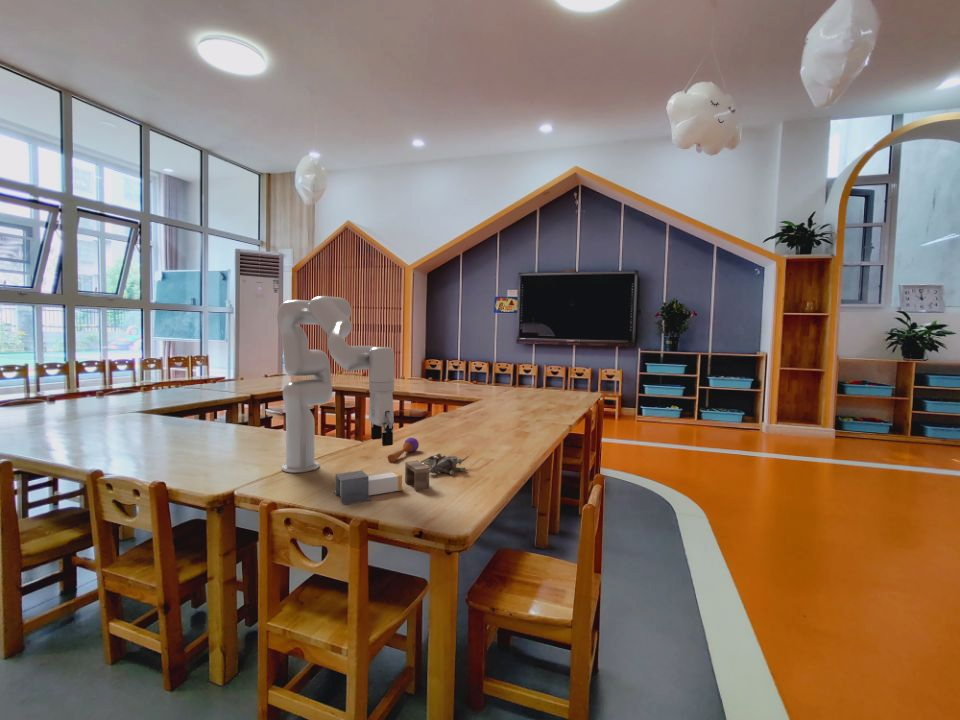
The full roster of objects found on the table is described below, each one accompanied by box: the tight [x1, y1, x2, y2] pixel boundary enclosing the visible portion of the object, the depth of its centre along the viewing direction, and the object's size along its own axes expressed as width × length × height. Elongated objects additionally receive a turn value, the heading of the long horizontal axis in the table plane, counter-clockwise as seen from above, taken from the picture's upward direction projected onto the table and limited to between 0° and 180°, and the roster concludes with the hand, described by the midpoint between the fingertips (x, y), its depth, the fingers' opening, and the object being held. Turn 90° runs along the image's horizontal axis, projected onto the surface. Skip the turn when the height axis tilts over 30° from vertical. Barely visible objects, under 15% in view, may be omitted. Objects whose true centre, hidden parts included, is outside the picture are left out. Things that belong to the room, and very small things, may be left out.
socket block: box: [404, 460, 430, 492], centre depth 154 cm, size 9×4×7 cm, turn 31°
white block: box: [340, 471, 403, 497], centre depth 146 cm, size 5×18×5 cm, turn 121°
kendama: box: [387, 437, 420, 463], centre depth 190 cm, size 6×6×20 cm
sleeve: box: [333, 470, 372, 506], centre depth 143 cm, size 11×8×7 cm
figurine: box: [420, 453, 470, 476], centre depth 172 cm, size 20×6×17 cm
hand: (382, 442), depth 147 cm, fingers open, 9 cm apart
